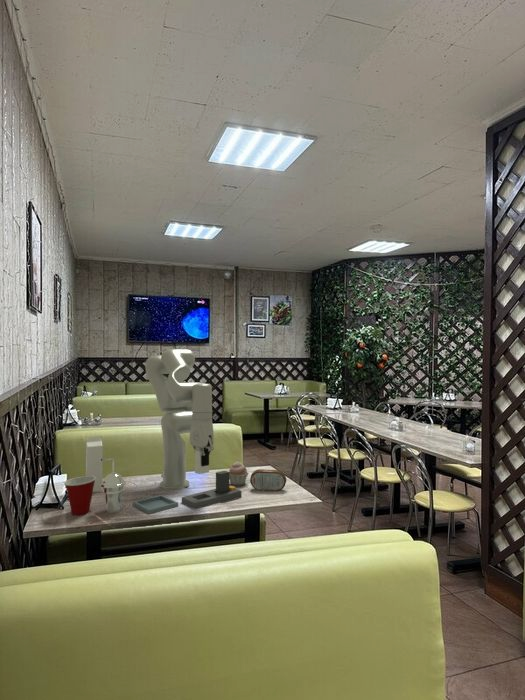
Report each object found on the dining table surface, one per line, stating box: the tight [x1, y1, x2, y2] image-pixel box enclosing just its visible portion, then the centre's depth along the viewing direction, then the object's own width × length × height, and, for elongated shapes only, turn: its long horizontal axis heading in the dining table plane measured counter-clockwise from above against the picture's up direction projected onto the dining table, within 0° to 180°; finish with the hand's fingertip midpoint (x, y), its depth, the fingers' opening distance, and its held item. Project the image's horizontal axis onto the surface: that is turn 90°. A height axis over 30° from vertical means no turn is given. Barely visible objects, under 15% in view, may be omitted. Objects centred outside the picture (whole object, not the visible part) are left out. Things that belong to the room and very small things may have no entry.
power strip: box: [181, 485, 242, 510], centre depth 175 cm, size 9×22×3 cm, turn 132°
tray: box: [132, 494, 179, 515], centre depth 167 cm, size 12×12×2 cm
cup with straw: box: [101, 458, 127, 513], centre depth 162 cm, size 8×9×20 cm
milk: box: [85, 436, 104, 493], centre depth 187 cm, size 6×6×22 cm
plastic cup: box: [63, 475, 96, 516], centre depth 161 cm, size 11×11×12 cm
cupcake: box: [228, 460, 250, 487], centre depth 196 cm, size 9×9×10 cm
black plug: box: [215, 470, 230, 494], centre depth 178 cm, size 3×4×10 cm
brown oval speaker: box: [249, 468, 287, 492], centre depth 188 cm, size 15×3×8 cm, turn 84°
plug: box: [194, 446, 210, 475], centre depth 171 cm, size 3×4×10 cm
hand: (202, 464), depth 171 cm, fingers closed on plug, 3 cm apart
